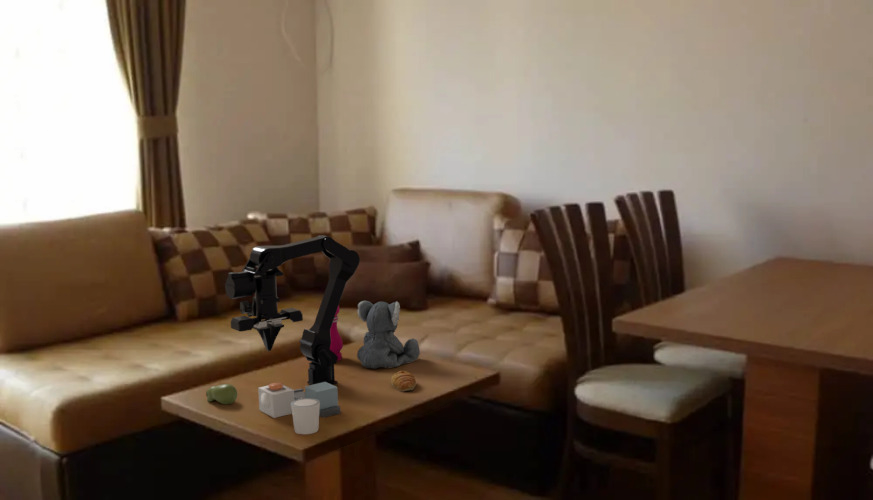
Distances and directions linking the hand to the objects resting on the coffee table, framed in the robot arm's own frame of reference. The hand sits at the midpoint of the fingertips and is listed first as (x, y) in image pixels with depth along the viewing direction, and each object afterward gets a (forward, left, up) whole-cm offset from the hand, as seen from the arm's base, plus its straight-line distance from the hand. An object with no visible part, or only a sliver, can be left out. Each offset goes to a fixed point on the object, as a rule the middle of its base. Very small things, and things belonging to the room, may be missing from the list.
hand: (268, 350), depth 240 cm
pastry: (-32, +17, -13) cm, 39 cm away
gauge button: (+5, +13, -11) cm, 18 cm away
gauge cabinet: (+5, +13, -12) cm, 19 cm away
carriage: (-4, +20, -12) cm, 24 cm away
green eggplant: (+13, -4, -13) cm, 18 cm away
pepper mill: (-31, -20, -13) cm, 39 cm away
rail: (-4, +15, -12) cm, 20 cm away
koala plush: (-41, -6, -13) cm, 43 cm away
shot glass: (+6, +30, -13) cm, 33 cm away
